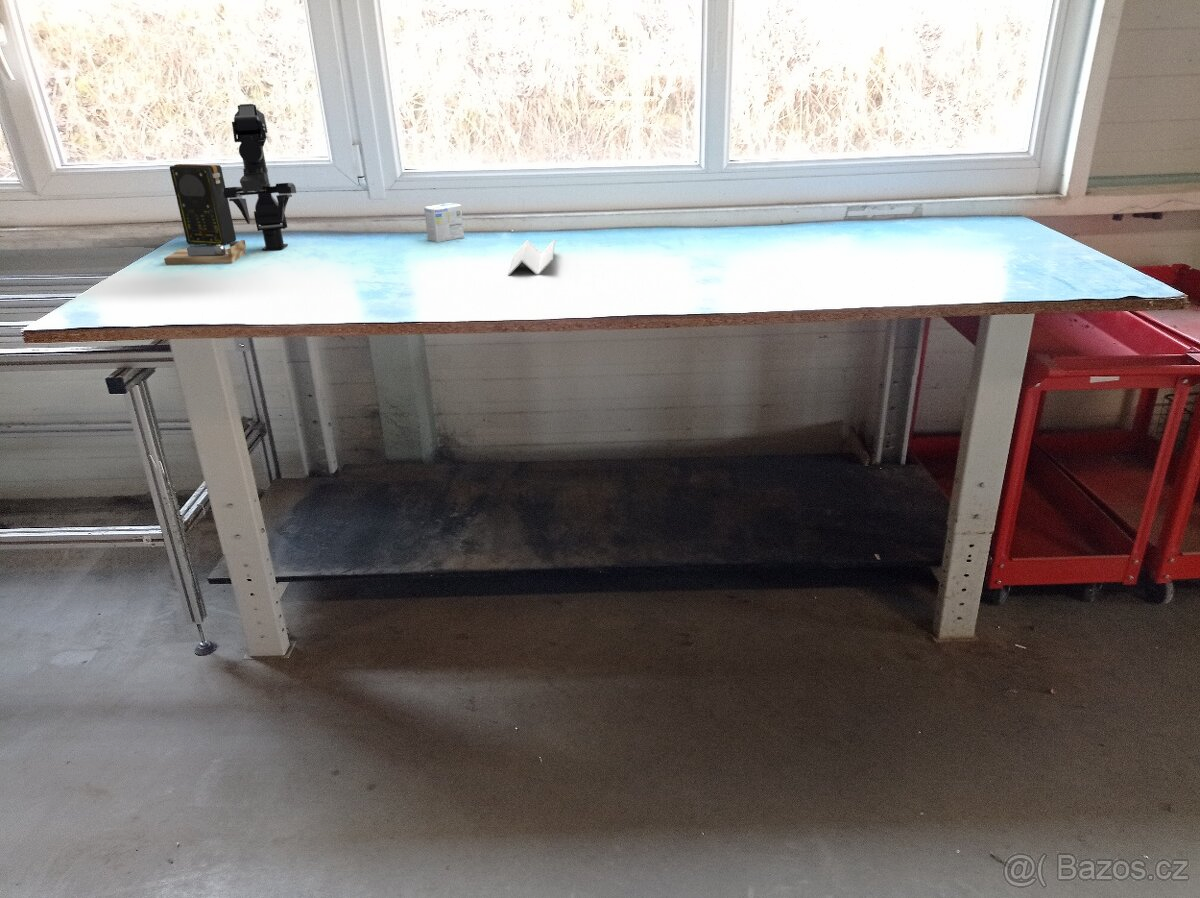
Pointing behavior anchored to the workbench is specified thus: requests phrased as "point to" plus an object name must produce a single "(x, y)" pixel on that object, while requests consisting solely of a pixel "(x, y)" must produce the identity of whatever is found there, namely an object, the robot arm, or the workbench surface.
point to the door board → (208, 256)
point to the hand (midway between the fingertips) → (265, 222)
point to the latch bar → (206, 250)
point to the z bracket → (532, 257)
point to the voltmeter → (203, 204)
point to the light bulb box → (444, 222)
